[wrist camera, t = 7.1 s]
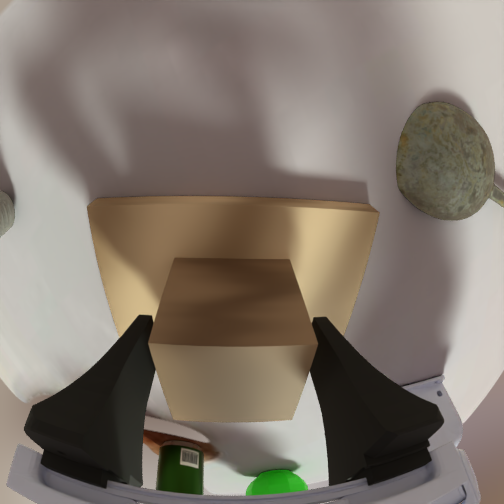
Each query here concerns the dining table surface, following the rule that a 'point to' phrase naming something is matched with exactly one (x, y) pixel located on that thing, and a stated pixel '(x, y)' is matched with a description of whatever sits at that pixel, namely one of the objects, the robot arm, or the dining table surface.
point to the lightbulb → (6, 213)
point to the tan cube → (232, 340)
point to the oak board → (231, 246)
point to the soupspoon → (446, 163)
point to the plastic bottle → (276, 483)
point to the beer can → (180, 468)
